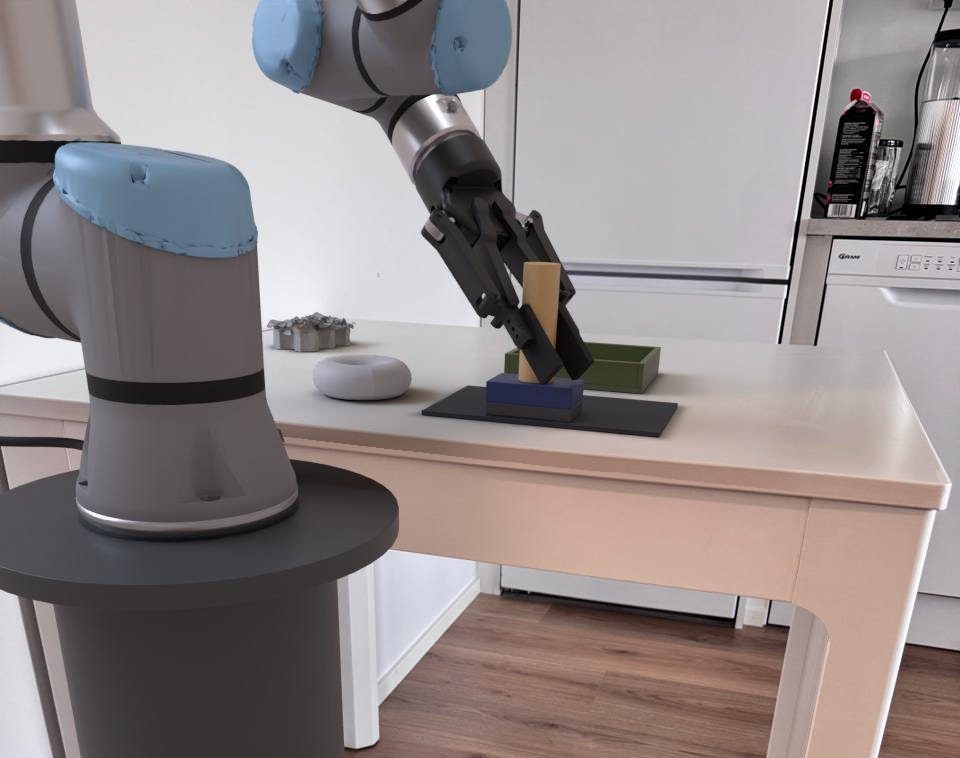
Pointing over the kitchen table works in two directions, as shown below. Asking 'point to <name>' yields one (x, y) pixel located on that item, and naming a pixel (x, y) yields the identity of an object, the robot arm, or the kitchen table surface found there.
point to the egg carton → (310, 332)
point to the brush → (523, 389)
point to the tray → (609, 367)
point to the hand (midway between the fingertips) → (567, 372)
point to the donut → (361, 377)
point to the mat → (594, 417)
